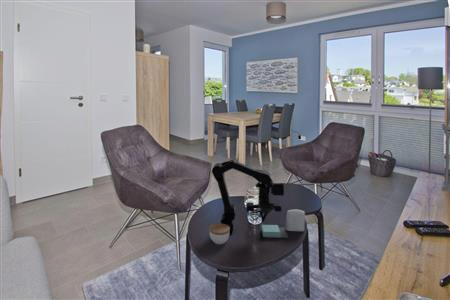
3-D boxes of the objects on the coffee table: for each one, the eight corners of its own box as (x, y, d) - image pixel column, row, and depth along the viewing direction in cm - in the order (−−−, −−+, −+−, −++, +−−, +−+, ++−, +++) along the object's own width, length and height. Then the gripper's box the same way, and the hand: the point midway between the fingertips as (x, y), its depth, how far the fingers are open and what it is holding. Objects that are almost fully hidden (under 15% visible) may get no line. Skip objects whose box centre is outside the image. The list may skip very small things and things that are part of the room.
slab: (263, 231, 161) (280, 232, 161) (261, 224, 169) (277, 225, 169) (263, 236, 162) (279, 237, 161) (261, 229, 169) (277, 229, 169)
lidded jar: (233, 239, 159) (233, 223, 157) (222, 249, 150) (223, 232, 148) (216, 234, 165) (216, 218, 162) (205, 243, 156) (205, 226, 153)
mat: (266, 237, 162) (266, 236, 162) (263, 227, 172) (263, 227, 172) (288, 237, 161) (288, 237, 161) (284, 228, 172) (284, 227, 172)
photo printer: (286, 231, 168) (287, 211, 166) (285, 227, 173) (286, 207, 170) (304, 232, 168) (306, 211, 165) (303, 228, 172) (304, 208, 169)
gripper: (247, 200, 153) (246, 228, 156) (284, 200, 152) (282, 228, 156) (246, 192, 163) (245, 218, 167) (280, 192, 163) (279, 219, 167)
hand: (262, 221), depth 164 cm, fingers closed
